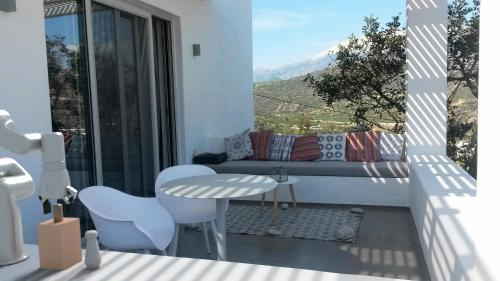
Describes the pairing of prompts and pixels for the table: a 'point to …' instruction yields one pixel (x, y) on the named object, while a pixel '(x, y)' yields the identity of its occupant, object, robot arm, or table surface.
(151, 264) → the table surface
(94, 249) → the salt shaker
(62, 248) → the cover
